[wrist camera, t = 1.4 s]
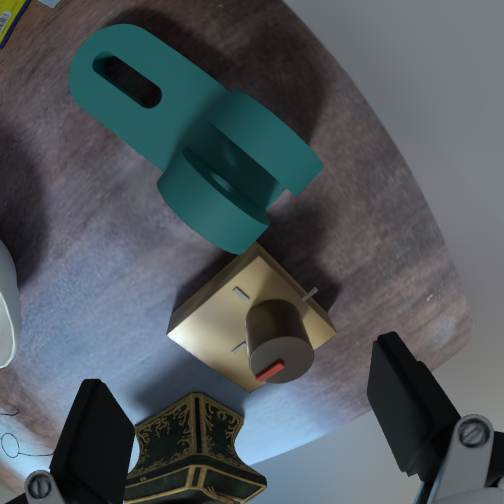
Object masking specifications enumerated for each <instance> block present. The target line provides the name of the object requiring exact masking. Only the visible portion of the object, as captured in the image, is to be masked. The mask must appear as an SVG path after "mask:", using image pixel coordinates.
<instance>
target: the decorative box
mask: <svg viewBox="0 0 504 504" xmlns="http://www.w3.org/2000/svg"><path fill="white" fill-rule="evenodd" d="M243 424H244V417H243V416H241V415H239V414H237V413H235V412H234V411H232V410H230V409H228V408H226V407H225V406H223V405H221V404H220V403H218V402H216V401H214V400H213V399H211V398H209V397H208V396H206V395H204V394H203V393H190V394H189V395H187V396H186V397H184V398H182V399H181V400H179V401H178V402H176V403H175V404H173V405H171V406H170V407H168V408H166V409H165V410H163V411H162V412H160V413H158V414H157V415H155V416H153V417H152V418H150V419H148V420H147V421H145V422H143V423H141V424H140V425H138V426H136V427H135V435H136V437H137V440H138V443H139V448H140V453H139V459H138V461H137V463H136V465H135V467H134V468H133V469H132V471H131V472H129V473H128V475H127V480H126V486H125V493H124V499H123V502H125V503H126V504H245V503H246V502H248V501H250V500H251V499H252V498H254V497H255V496H257V495H258V494H260V493H261V492H263V491H264V490H265V489H266V488H267V481H266V478H265V477H264V476H262V475H261V474H260V473H258V472H256V471H255V470H253V469H252V468H250V467H249V466H248V465H246V464H245V463H244V462H243V461H242V460H241V459H240V458H239V457H238V455H237V453H236V451H235V447H234V443H235V439H236V437H237V435H238V433H239V431H240V429H241V428H242V426H243Z"/></svg>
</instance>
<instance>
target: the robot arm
mask: <svg viewBox="0 0 504 504" xmlns="http://www.w3.org/2000/svg"><path fill="white" fill-rule="evenodd" d="M367 397H368V400H369V402H370V404H371V406H372V409H373V411H374V413H375V415H376V417H377V419H378V422H379V424H380V426H381V428H382V430H383V433H384V435H385V437H386V439H387V441H388V444H389V446H390V448H391V450H392V453H393V455H394V457H395V459H396V461H397V464H398V466H399V468H400V470H401V471H402V472H405V471H406V473H407V475H408V477H409V476H412V475H414V474H416V473H418V475H419V478H420V480H421V481H422V483H421V486H420V488H419V491H418V493H417V495H416V498H415V500H414V503H413V504H504V433H503V432H497V431H494V429H493V426H492V424H491V422H490V421H489V420H488V419H487V418H485V417H484V416H481V415H478V414H470V415H467V416H464V417H463V418H461V416H460V415H459V413H458V412H457V410H456V409H455V407H454V406H453V404H452V403H451V401H450V400H449V398H448V397H447V395H446V394H445V392H444V391H443V389H442V388H441V387H440V385H439V384H438V382H437V381H436V380H435V378H434V376H433V375H432V374H431V372H430V371H429V369H428V368H427V366H426V365H425V364H424V363H423V362H421V361H416V359H415V358H414V356H413V355H412V354H411V352H410V351H409V349H408V348H407V347H406V345H405V344H404V342H403V341H402V340H401V338H400V337H399V336H398V334H397V333H396V332H394V331H393V332H389V333H386V334H382V335H379V336H378V338H377V341H374V342H373V349H372V358H371V366H370V373H369V380H368V387H367ZM134 437H135V428H134V426H133V424H132V423H131V421H130V420H129V418H128V417H127V416H126V414H125V413H124V411H123V410H122V408H121V407H120V405H119V404H118V402H117V401H116V399H115V398H114V396H113V395H112V393H111V392H110V390H109V389H108V387H107V385H106V384H105V383H102V381H101V380H100V379H84V380H83V382H82V384H81V386H80V388H79V390H78V393H77V395H76V398H75V400H74V402H73V405H72V407H71V410H70V412H69V415H68V417H67V420H66V422H65V425H64V427H63V430H62V433H61V435H60V438H59V441H58V444H57V446H56V449H55V452H54V455H53V458H52V461H51V464H50V467H49V469H50V473H49V472H47V471H45V470H37V471H34V472H33V473H31V474H30V475H29V476H28V477H27V479H26V482H25V487H24V489H25V493H23V494H21V495H20V496H18V497H16V498H14V499H13V500H11V501H9V502H7V503H5V504H123V499H124V493H125V486H126V480H127V475H128V469H129V463H130V458H131V453H132V447H133V442H134Z"/></svg>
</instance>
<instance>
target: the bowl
mask: <svg viewBox="0 0 504 504" xmlns="http://www.w3.org/2000/svg"><path fill="white" fill-rule="evenodd" d="M20 333H21V303H20V296H19V292H18V288H17V274H16V268H15V264H14V262H13V259H12V256H11V254H10V252H9V250H8V249H7V247H6V246H5V244H4V243H3V242H2V240H1V239H0V368H2V367H5V366H7V365H8V364H9V362H10V361H11V360H12V359H13V357H14V355H15V353H16V351H17V347H18V342H19V338H20Z"/></svg>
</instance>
